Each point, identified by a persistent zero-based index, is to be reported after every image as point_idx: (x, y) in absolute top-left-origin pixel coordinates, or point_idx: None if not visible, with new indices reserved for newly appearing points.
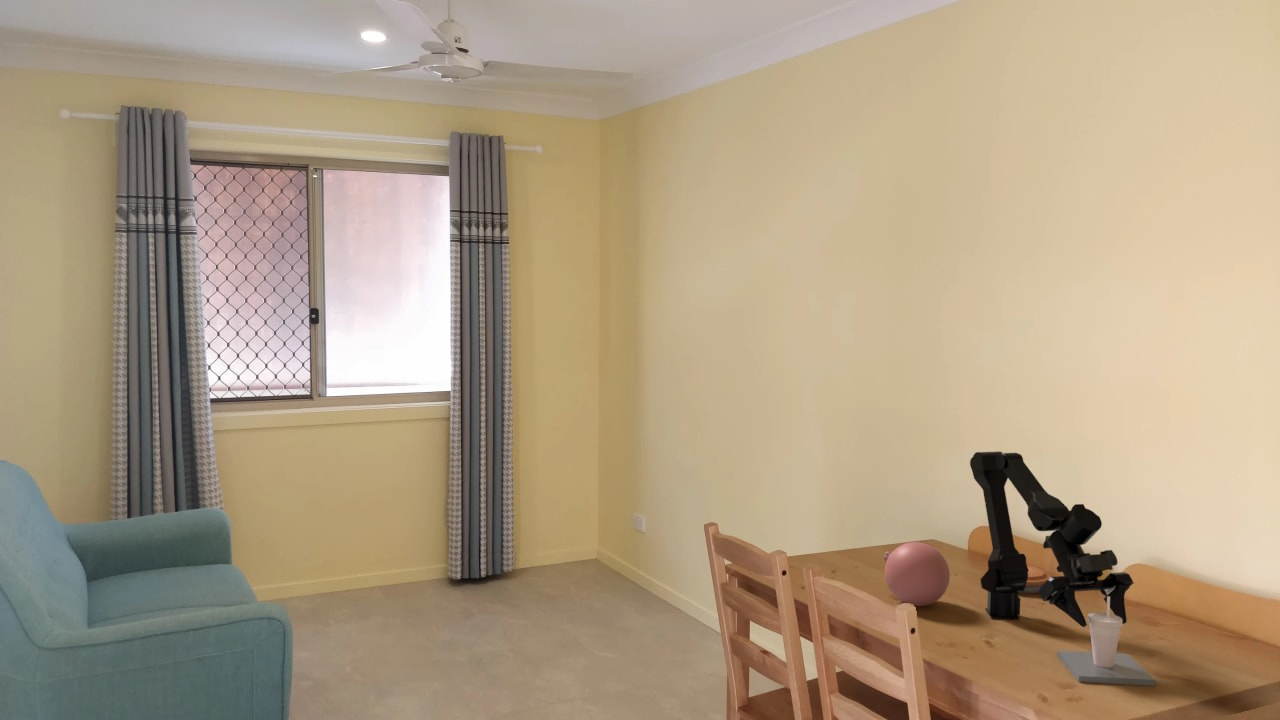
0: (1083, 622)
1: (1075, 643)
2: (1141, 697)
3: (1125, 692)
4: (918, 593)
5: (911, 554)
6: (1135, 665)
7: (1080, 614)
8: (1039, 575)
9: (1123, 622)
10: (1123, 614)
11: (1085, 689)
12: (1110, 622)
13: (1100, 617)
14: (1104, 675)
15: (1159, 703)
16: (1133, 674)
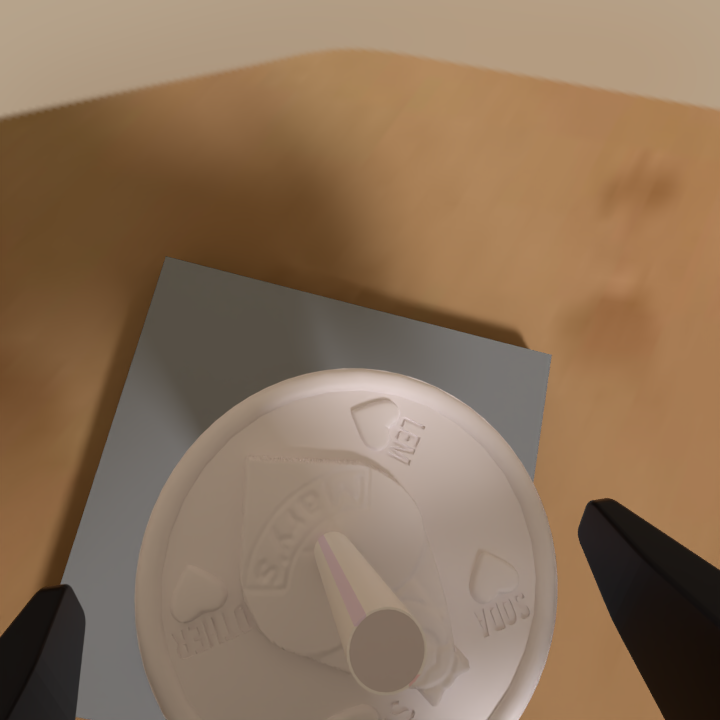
0: (633, 517)
1: None
2: (335, 159)
3: (376, 220)
4: None
5: None
6: (125, 479)
7: (711, 581)
8: None
9: (76, 607)
10: (13, 669)
11: (545, 276)
12: (400, 374)
13: (433, 556)
14: (412, 347)
15: (294, 91)
16: (238, 342)
